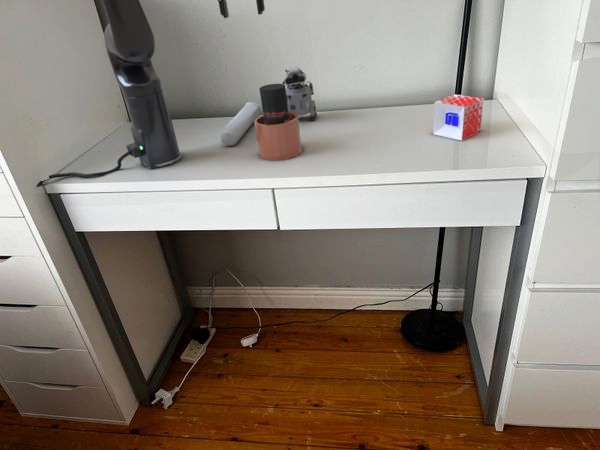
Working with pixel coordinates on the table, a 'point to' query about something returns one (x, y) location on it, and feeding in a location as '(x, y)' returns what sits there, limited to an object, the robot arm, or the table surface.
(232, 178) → the table surface
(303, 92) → the figurine
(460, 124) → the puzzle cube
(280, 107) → the deodorant
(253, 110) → the tube
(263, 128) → the cup
